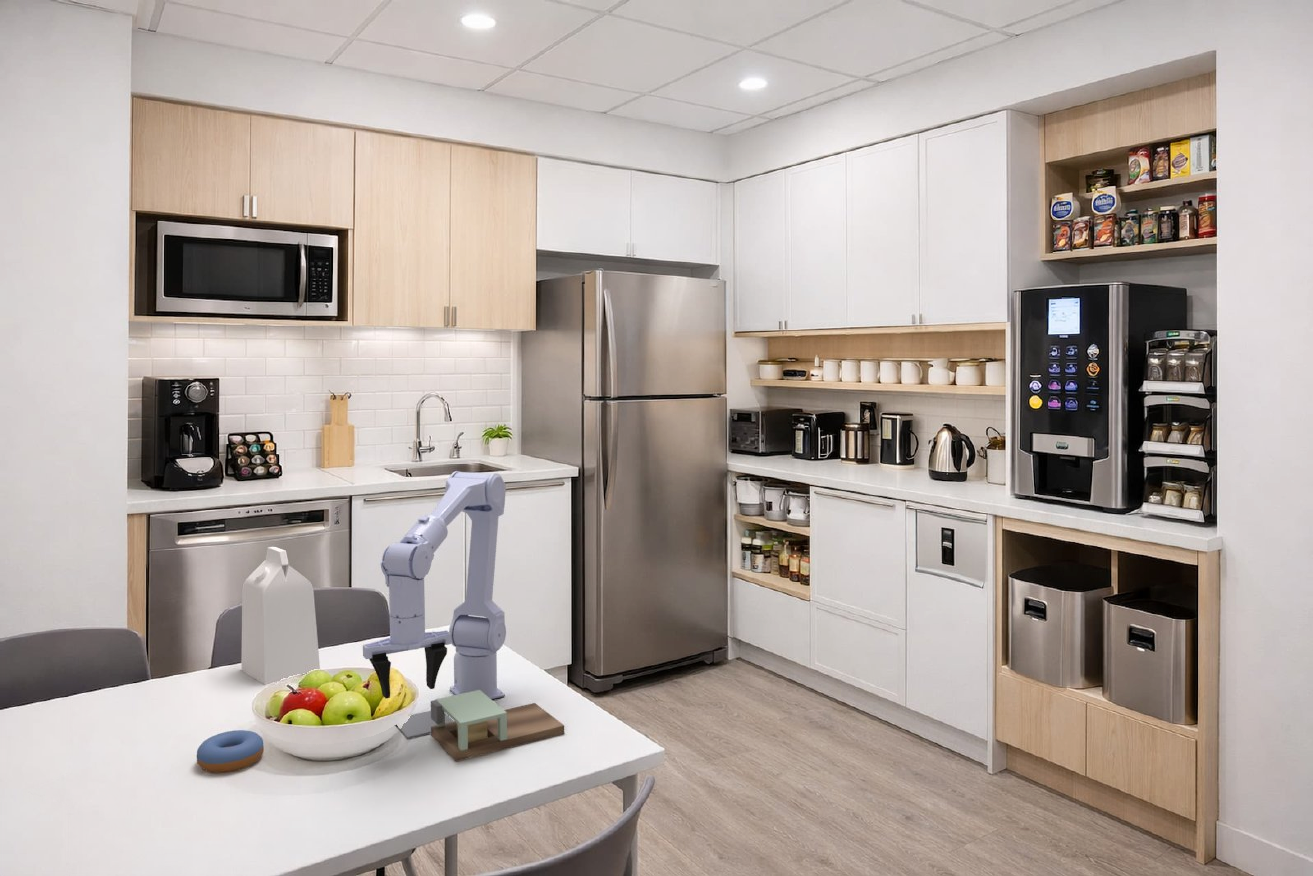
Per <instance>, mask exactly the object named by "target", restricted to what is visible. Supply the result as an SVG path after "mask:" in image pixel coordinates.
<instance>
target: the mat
mask: <svg viewBox="0 0 1313 876" xmlns="http://www.w3.org/2000/svg"><path fill="white" fill-rule="evenodd" d="M410 715H411V716H410V718H409V719H408V721H407V722H406V723H404V724H403V726H402V728H401V729H400V730H399V731H400V732H401V733H402V734H403V735H404V737H405V738H406V739H407V740H411V739H414V738H413V737H415V738H419V737H423V735H424V736H427V735H426V734H428V735H431V734H430V733H431V727H432V726H436V723H435V722H434V721H433V720H432V719H431V710H426V711H422V712H418V713H413V714H410ZM450 722H454V720H453V719H452V718H451V717H450V716H449V715H448V714H447V713H445V723H450ZM410 738H411V739H410Z"/></svg>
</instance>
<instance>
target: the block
mask: <svg viewBox="0 0 1313 876" xmlns="http://www.w3.org/2000/svg"><path fill="white" fill-rule="evenodd" d="M485 738H488V737H487V721H483V722H479V723H475V724H470V725H468V743H469V742H473V741H477V740H481V739H485ZM456 739H457V740H458V724H457V738H456Z"/></svg>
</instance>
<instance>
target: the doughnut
mask: <svg viewBox="0 0 1313 876" xmlns="http://www.w3.org/2000/svg"><path fill="white" fill-rule="evenodd" d="M264 747H265V745H264V740H263V738H262V736H261V735H260V734H258V733H257V732H255V731H252V730H245V729H244V730H243V729H240V730H239V729H238V730H237V729H236V730H230V731H225V732H220V733H217V734H215V735H212V736H210V737H208V738H207V739H205V740H204V741H203V742H202V743H201V744H200V745H199V746H198V748H197V751H196V763H197V764H198V766H199V767H200V768H201V769H202V770H203V771H206V772H209V773H215V774H222V773H226V772H227V773H231V772H237V771H240V770H244V769H246V768H248V767H250V766H253V764H255V763H256V762H258V761H259V760H260V759H261V758H262V756H263V754H264V750H265V748H264ZM243 768H244V769H243Z"/></svg>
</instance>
